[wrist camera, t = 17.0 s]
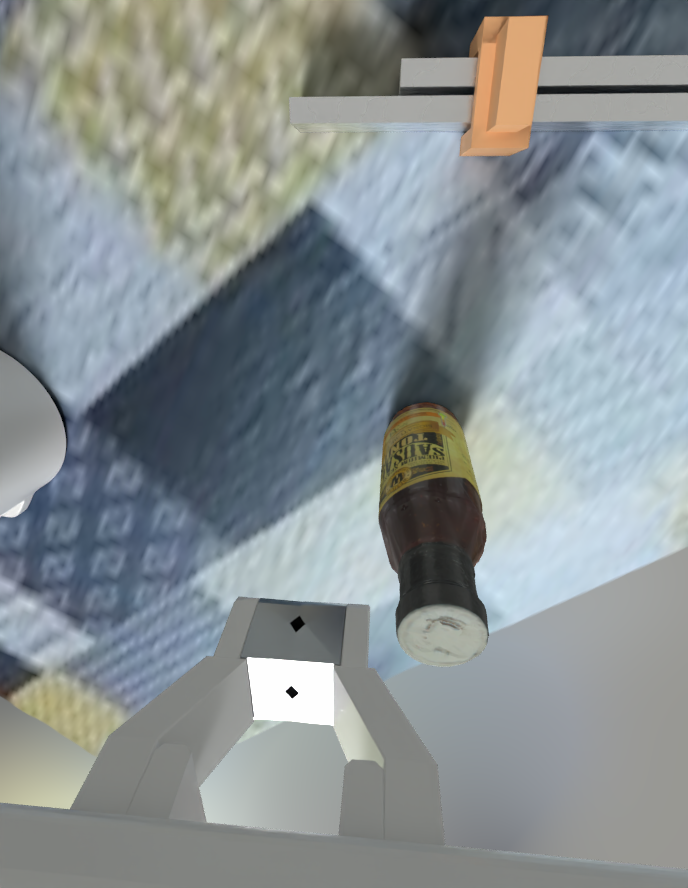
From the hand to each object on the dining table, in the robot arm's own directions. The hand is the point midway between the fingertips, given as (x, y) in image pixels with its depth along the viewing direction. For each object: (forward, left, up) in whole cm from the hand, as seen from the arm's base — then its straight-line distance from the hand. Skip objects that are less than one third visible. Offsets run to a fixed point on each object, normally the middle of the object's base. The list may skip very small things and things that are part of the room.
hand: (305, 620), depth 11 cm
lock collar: (+7, +14, -27) cm, 31 cm away
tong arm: (+11, +15, -27) cm, 33 cm away
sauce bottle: (+5, -8, -27) cm, 29 cm away
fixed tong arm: (+8, +13, -27) cm, 31 cm away
